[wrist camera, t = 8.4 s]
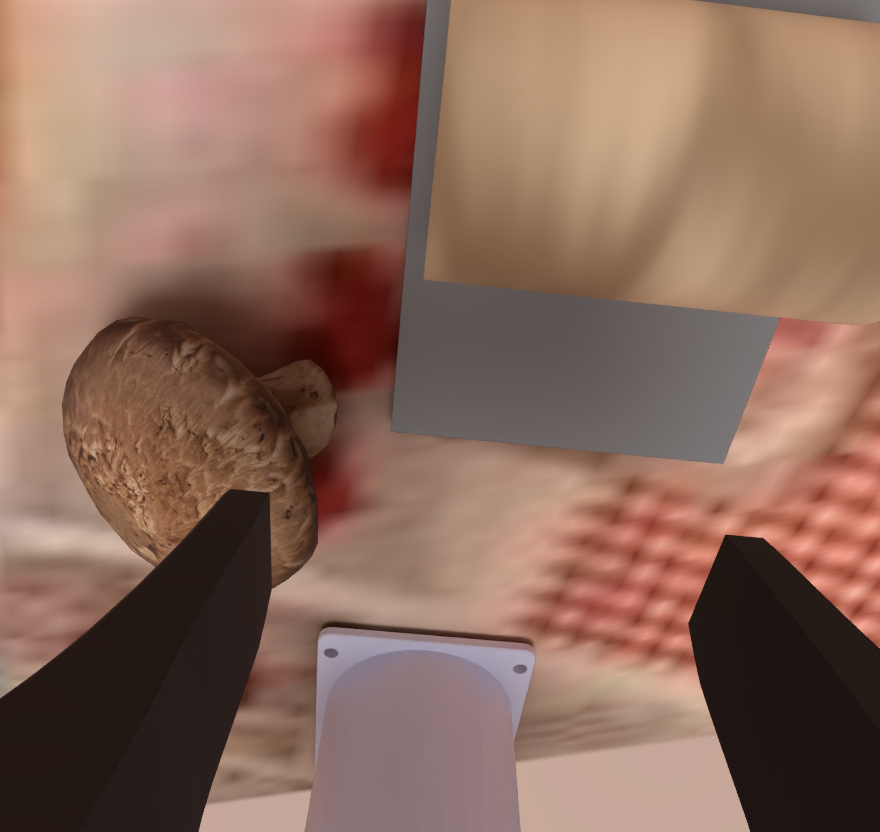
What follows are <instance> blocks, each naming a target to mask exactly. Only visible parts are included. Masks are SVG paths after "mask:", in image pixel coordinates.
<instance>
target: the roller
mask: <svg viewBox="0 0 880 832" xmlns="http://www.w3.org/2000/svg"><path fill="white" fill-rule="evenodd" d="M424 280H431V281H440V282H450V283H459V284H468V285H478V286H487V287H497V288H506V289H516V290H525V291H534V292H544V293H553V294H563V295H572V296H582V297H591V298H601V299H610V300H619V301H629V302H638V303H648V304H657V305H667V306H676V307H685V308H695V309H704V310H714V311H723V312H733V313H742V314H751V315H761V316H770V317H780V318H789V319H799V320H808V321H818V322H827V323H836V324H846V325H866V324H870V323H875V322H877V321H879V320H880V23H872V22H864V21H856V20H848V19H840V18H832V17H824V16H816V15H808V14H800V13H792V12H784V11H776V10H767V9H759V8H751V7H743V6H735V5H727V4H719V3H711V2H703V1H695V0H451V5H450V15H449V24H448V34H447V44H446V54H445V64H444V74H443V84H442V94H441V104H440V114H439V124H438V134H437V144H436V155H435V165H434V175H433V185H432V195H431V206H430V216H429V226H428V237H427V247H426V258H425V268H424Z"/></svg>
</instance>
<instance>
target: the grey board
mask: <svg viewBox="0 0 880 832" xmlns="http://www.w3.org/2000/svg"><path fill="white" fill-rule="evenodd" d="M695 1H703V2H711V3H719V4H727V5H735V6H743V7H751V8H759V9H767V10H776V11H784V12H792V13H800V14H808V15H816V16H824V17H832V18H840V19H848V20H856V21H864V22H872V23H880V0H695ZM450 5H451V0H427V9H426V21H425V32H424V44H423V56H422V68H421V80H420V92H419V104H418V115H417V127H416V139H415V151H414V163H413V175H412V187H411V198H410V210H409V222H408V234H407V246H406V258H405V270H404V281H403V293H402V305H401V317H400V329H399V341H398V353H397V364H396V376H395V388H394V400H393V412H392V424H391V432H398V433H409V434H419V435H429V436H440V437H450V438H460V439H471V440H481V441H491V442H502V443H512V444H522V445H533V446H543V447H553V448H564V449H574V450H584V451H595V452H605V453H615V454H626V455H636V456H646V457H657V458H667V459H677V460H688V461H698V462H708V463H719V464H723V463H724V461H725V458H726V456H727V453H728V450H729V448H730V445H731V443H732V440H733V438H734V435H735V432H736V430H737V427H738V425H739V422H740V420H741V417H742V414H743V412H744V409H745V407H746V404H747V402H748V399H749V396H750V394H751V391H752V389H753V386H754V384H755V381H756V378H757V376H758V373H759V371H760V368H761V366H762V363H763V360H764V358H765V355H766V353H767V350H768V348H769V345H770V342H771V340H772V337H773V335H774V332H775V330H776V327H777V324H778V322H779V319H780V317H770V316H761V315H751V314H742V313H733V312H723V311H714V310H704V309H695V308H685V307H676V306H667V305H657V304H648V303H638V302H629V301H619V300H610V299H601V298H591V297H582V296H572V295H563V294H553V293H544V292H534V291H525V290H516V289H506V288H497V287H487V286H478V285H468V284H459V283H450V282H440V281H431V280H424V268H425V258H426V247H427V237H428V226H429V216H430V206H431V195H432V185H433V175H434V165H435V155H436V144H437V134H438V124H439V114H440V104H441V94H442V84H443V74H444V64H445V54H446V44H447V34H448V24H449V15H450Z"/></svg>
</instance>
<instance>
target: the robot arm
mask: <svg viewBox="0 0 880 832" xmlns="http://www.w3.org/2000/svg"><path fill="white" fill-rule="evenodd" d="M271 590H272V565H271V523H270V492H259V491H248V490H237V489H229V490H228V491H227V492H225V493H224V494H223V495H222V496H221V497H220V498H219V500H218V501H217V502H216V503H215V504H214V505H213V506H212V508H211V509H210V510H209V511H208V512H207V513H206V514H205V516H204V517H203V518H202V519H201V520H200V521H199V522H198V523H197V525H196V526H195V527H194V528H193V529H192V530H191V531H190V532H189V533H188V534H187V535H186V536H185V538H184V539H183V540H182V541H181V542H180V543H179V544H178V545H177V546H176V547H175V548H174V549H173V550H172V551H171V552H170V553H169V554H168V555H167V556H166V557H165V558H164V559H163V560H162V561H161V562H160V563H159V564H158V565H157V566H156V568H155V569H154V570H153V571H152V572H151V573H150V574H149V575H148V576H147V577H146V578H145V579H144V580H143V581H142V582H141V583H140V584H138V585H137V586H136V587H135V588H134V589H133V590H132V591H131V592H130V593H129V594H128V595H127V596H126V597H124V598H123V599H122V600H121V601H120V602H119V603H118V604H117V605H116V606H115V607H113V608H112V609H111V610H110V611H109V612H108V613H107V614H106V615H105V616H104V617H103V618H101V619H100V620H99V621H98V622H97V623H96V624H95V625H94V626H93V627H91V628H90V629H89V630H88V631H87V632H85V633H84V634H83V635H82V636H81V637H80V638H78V639H77V640H76V641H75V642H74V643H72V644H71V645H70V646H69V647H68V648H66V649H65V650H64V651H63V652H61V653H60V654H59V655H58V656H56V657H55V658H54V659H52V660H51V661H50V662H49V663H47V664H46V665H45V666H44V667H42V668H41V669H40V670H38V671H37V672H36V673H35V674H33V675H32V676H31V677H29V678H28V679H27V680H25V681H24V682H22V683H21V684H20V685H18V686H17V687H15V688H14V689H13V690H11V691H10V692H9V693H7V694H6V695H4V696H3V697H2V698H0V832H199V827H200V823H201V819H202V815H203V812H204V808H205V805H206V802H207V799H208V795H209V792H210V789H211V785H212V782H213V779H214V776H215V774H216V771H217V768H218V765H219V762H220V759H221V756H222V753H223V750H224V748H225V745H226V742H227V739H228V736H229V733H230V730H231V727H232V724H233V722H234V719H235V716H236V713H237V710H238V707H239V704H240V701H241V698H242V696H243V693H244V690H245V687H246V684H247V681H248V678H249V675H250V672H251V669H252V666H253V663H254V660H255V657H256V654H257V651H258V648H259V645H260V640H261V636H262V631H263V627H264V623H265V618H266V613H267V609H268V604H269V599H270V595H271ZM688 625H689V630H690V636H691V641H692V646H693V652H694V657H695V662H696V667H697V671H698V676H699V680H700V685H701V688H702V691H703V694H704V697H705V700H706V703H707V706H708V709H709V712H710V715H711V718H712V721H713V724H714V727H715V730H716V733H717V736H718V739H719V742H720V745H721V747H722V750H723V753H724V756H725V759H726V762H727V765H728V768H729V771H730V774H731V776H732V779H733V782H734V785H735V788H736V791H737V794H738V797H739V799H740V802H741V805H742V808H743V811H744V814H745V817H746V820H747V823H748V826H749V829H750V832H880V649H879V648H878V647H877V646H876V645H875V644H874V643H873V642H872V641H871V640H870V639H869V638H868V637H866V636H865V635H864V634H863V633H862V632H861V631H860V630H859V629H858V628H857V627H856V626H855V625H854V624H853V623H852V622H851V621H850V620H848V619H847V618H846V617H845V616H844V615H843V614H842V613H841V612H840V611H839V610H838V609H837V608H836V607H835V606H834V605H833V604H832V603H831V602H830V601H829V600H828V599H827V598H826V597H825V596H824V595H823V594H822V593H821V592H820V591H818V590H817V589H816V588H815V587H814V586H813V585H812V584H811V583H810V582H809V581H808V580H807V579H806V578H805V577H804V576H803V575H802V574H801V573H800V572H799V571H798V570H797V569H796V568H795V567H794V566H793V565H792V564H791V563H790V562H789V561H788V560H786V559H785V558H784V557H783V556H782V555H781V554H780V553H779V552H778V551H777V550H776V549H775V548H774V547H773V546H771V545H770V544H769V543H768V542H767V541H766V540H765V539H763V538H756V537H745V536H735V535H725V537H724V539H723V542H722V544H721V546H720V549H719V551H718V554H717V556H716V558H715V561H714V563H713V566H712V568H711V570H710V573H709V575H708V578H707V580H706V582H705V585H704V587H703V590H702V592H701V594H700V597H699V599H698V602H697V604H696V606H695V609H694V611H693V614H692V616H691V618H690V621H689V623H688ZM330 648H332V649H330ZM535 661H536V655H535V649H534V648H533V647H532V646H530V645H529V644H525V643H515V642H503V641H491V640H480V639H468V638H456V637H444V636H433V635H421V634H409V633H397V632H386V631H374V630H362V629H350V628H339V627H328V628H325V629H323V630H322V631H321V632H320V634H319V638H318V651H317V692H316V733H315V774H314V780H313V786H312V792H311V798H310V804H309V810H308V816H307V821H306V828H305V832H520V820H519V805H518V792H517V779H516V765H515V752H514V740H515V736H516V733H517V729H518V725H519V721H520V718H521V714H522V710H523V706H524V703H525V699H526V695H527V691H528V687H529V684H530V680H531V676H532V672H533V669H534V665H535ZM519 664H522V665H519Z"/></svg>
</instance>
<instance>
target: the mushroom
mask: <svg viewBox="0 0 880 832" xmlns="http://www.w3.org/2000/svg"><path fill="white" fill-rule="evenodd" d="M337 410H338V403H337V400H336V396H335V393H334V389H333V386H332V384H331V382H330V380H329V378H328V377H327V375H326V373H325V371H324V369H322V368H321V367H319V366H318V365H317V364H315V363H314V362H313V361H311V360H309V359H308V360H299V361H294V362H292V363H290V364H288V365H286V366H284V367H282V368H280V369H278V370H276V371H274V372H271V373H269V374H266V375H264V376H261V377H258V378H256V377H255V376H254V375H253V374H252V373H251V372H250V371H249V370H248V369H247V368H246V367H245V366H244V365H243V364H242V363H241V362H240V361H239V360H238V359H237V358H236V357H235V356H234V355H232V354H231V353H230V352H228V351H227V350H226V349H224V348H222V347H221V346H219V345H217V344H216V343H214V342H213V341H211V340H209V339H208V338H206V337H205V336H203V335H201V334H200V333H198V332H197V331H195V330H193V329H192V328H190V327H188V326H187V325H185V324H184V323H182V322H175V321H168V320H160V319H152V318H142V317H129V318H125V319H121V320H117V321H115V322H113V323H112V324H110V325H109V326H107V327H106V328H104V329H103V330H101V331H100V332H98V333H97V335H96V336H95V337H94V338H93V340H92V341H91V342H90V343H89V345H88V346H87V347H86V348H85V350H84V351H83V352H82V354H81V355H80V357H79V358H78V359H77V361H76V362H75V364H74V365H73V368H72V370H71V372H70V375H69V377H68V380H67V382H66V387H65V392H64V397H63V402H62V411H63V430H64V437H65V441H66V445H67V450H68V454H69V457H70V459H71V461H72V463H73V465H74V467H75V469H76V470H77V472H78V474H79V476H80V478H81V480H82V482H83V484H84V486H85V488H86V490H87V491H88V493H89V495H90V497H91V499H92V500H93V502H94V504H95V505H96V507H97V509H98V511H99V512H100V514H101V515H102V516H103V517H104V519H105V520H106V521H107V522H108V523H109V524H110V526H111V527H112V528H113V529H114V530H115V531H116V533H117V534H118V535H119V536H120V537H121V538H122V540H123V541H124V542H125V543H126V544H127V545H128V547H129V548H130V549H131V550H132V551H133V552H135V553H136V554H138V555H139V556H141V557H142V558H143V559H145V560H146V561H148V562H149V563H151V564H152V565H153V566H155V567H156V566H157V565H158V564H159V563H160V562H161V561H162V560H163V559H164V558H165V557H166V556H167V555H168V554H169V553H170V552H171V551H172V550H173V549H174V548H175V547H176V546H177V545H178V544H179V543H180V542H181V541H182V540H183V539H184V538H185V536H186V535H187V534H188V533H189V532H190V531H191V530H192V529H193V528H194V527H195V526H196V525H197V523H198V522H199V521H200V520H201V519H202V518H203V517H204V516H205V514H206V513H207V512H208V511H209V510H210V509H211V508H212V506H213V505H214V504H215V503H216V502H217V501H218V500H219V498H220V497H221V496H222V495H223V494H224V493H225V492H227V491H228V490H229V489H237V490H248V491H259V492H270V523H271V565H272V588H274V587H276V586H278V585H279V584H281V583H282V582H284V581H286V580H287V579H289V578H290V577H291V576H292V575H294V574H295V573H296V572H297V571H298V570H300V569H301V568H302V567H303V565H304V564H305V563H306V562H307V561H308V560H309V559H310V558H311V557H312V555H313V553H314V550H315V548H316V546H317V544H318V501H317V495H316V490H315V485H314V481H313V476H312V471H311V467H310V462H309V459H310V458H312V457H314V456H315V455H316V454H318V453H319V452H320V451H321V450H323V449H324V448H325V447H326V446H328V444H329V442H330V439H331V436H332V434H333V431H334V428H335V426H336V418H337Z"/></svg>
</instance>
